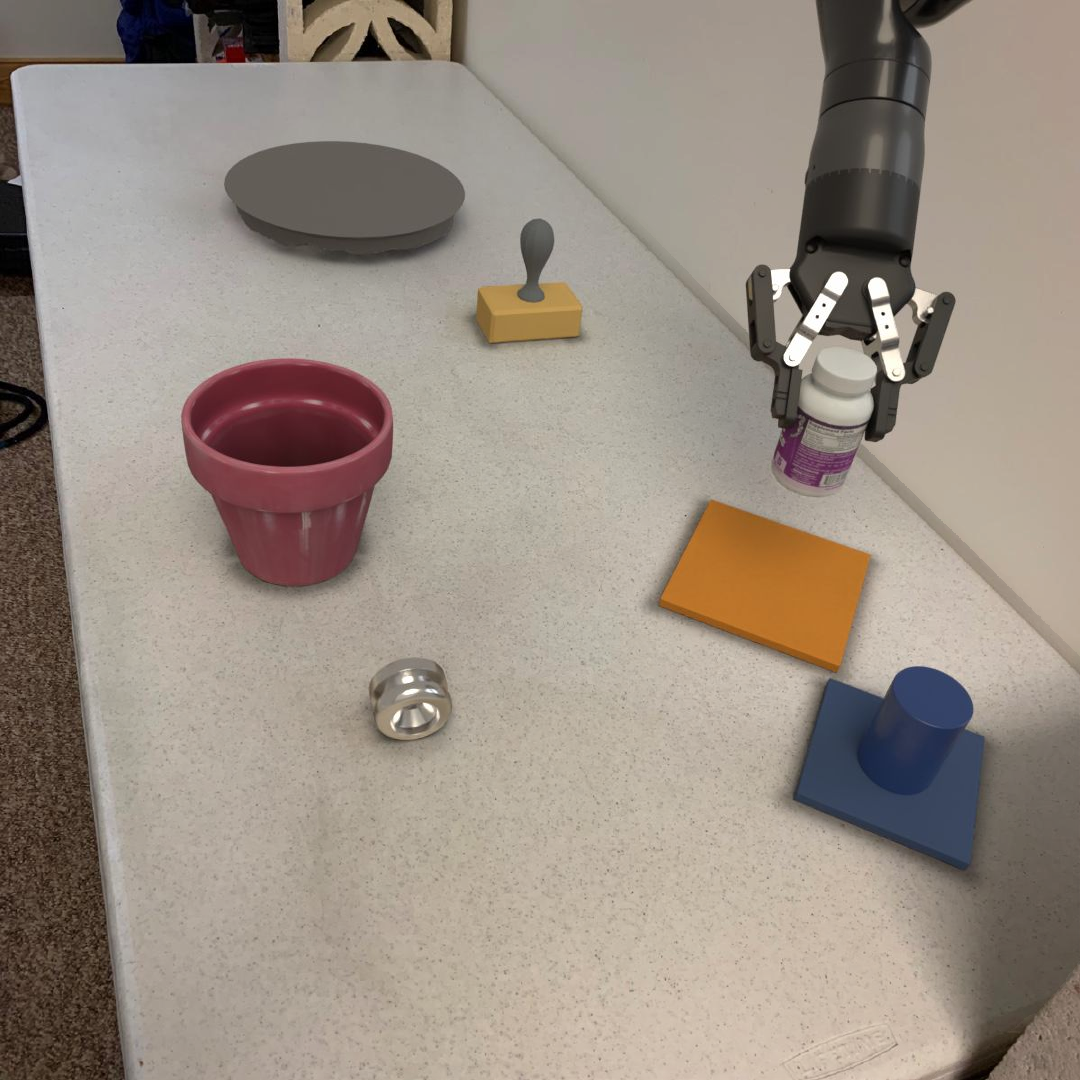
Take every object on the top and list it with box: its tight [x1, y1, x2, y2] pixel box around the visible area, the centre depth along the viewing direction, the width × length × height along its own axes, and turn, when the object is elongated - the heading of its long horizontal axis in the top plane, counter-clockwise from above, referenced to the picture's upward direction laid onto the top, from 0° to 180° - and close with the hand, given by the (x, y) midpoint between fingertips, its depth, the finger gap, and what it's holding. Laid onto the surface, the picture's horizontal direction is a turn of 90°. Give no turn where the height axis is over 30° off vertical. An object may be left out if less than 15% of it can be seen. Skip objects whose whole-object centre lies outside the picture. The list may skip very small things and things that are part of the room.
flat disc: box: [223, 140, 466, 256], centre depth 119 cm, size 28×28×4 cm
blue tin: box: [858, 665, 974, 795], centre depth 64 cm, size 5×5×7 cm
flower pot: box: [180, 357, 394, 587], centre depth 73 cm, size 14×14×13 cm
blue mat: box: [793, 677, 985, 871], centre depth 66 cm, size 11×11×1 cm
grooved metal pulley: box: [368, 657, 453, 741], centre depth 64 cm, size 5×3×5 cm, turn 106°
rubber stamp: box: [475, 218, 584, 344], centre depth 102 cm, size 10×6×12 cm, turn 108°
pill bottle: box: [770, 346, 877, 498], centre depth 68 cm, size 5×5×10 cm
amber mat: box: [658, 499, 872, 673], centre depth 79 cm, size 14×14×1 cm
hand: (830, 432), depth 66 cm, fingers closed on pill bottle, 5 cm apart
